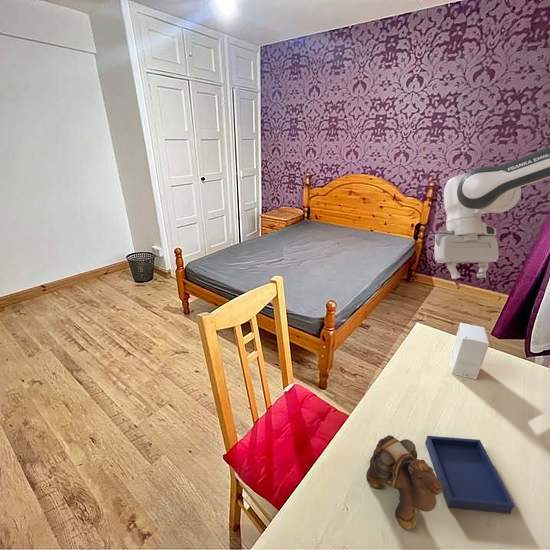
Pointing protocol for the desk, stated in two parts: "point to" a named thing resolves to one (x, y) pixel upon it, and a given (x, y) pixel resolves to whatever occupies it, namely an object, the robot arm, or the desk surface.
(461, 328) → the small box
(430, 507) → the figurine
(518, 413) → the desk surface
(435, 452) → the tray
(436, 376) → the desk surface
